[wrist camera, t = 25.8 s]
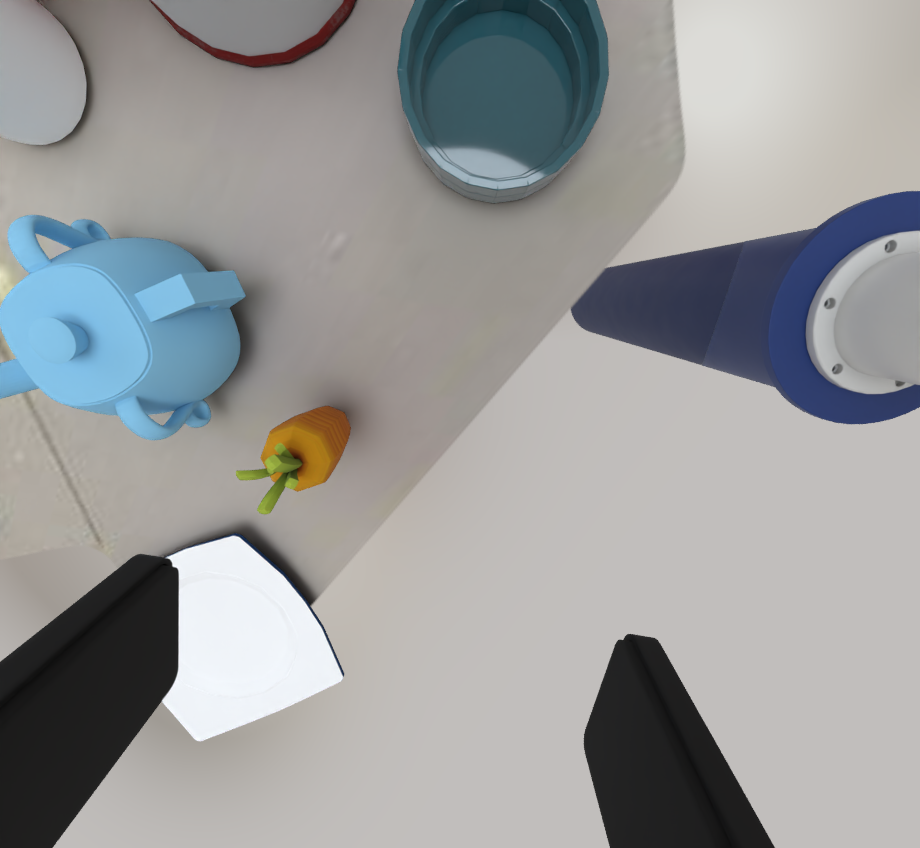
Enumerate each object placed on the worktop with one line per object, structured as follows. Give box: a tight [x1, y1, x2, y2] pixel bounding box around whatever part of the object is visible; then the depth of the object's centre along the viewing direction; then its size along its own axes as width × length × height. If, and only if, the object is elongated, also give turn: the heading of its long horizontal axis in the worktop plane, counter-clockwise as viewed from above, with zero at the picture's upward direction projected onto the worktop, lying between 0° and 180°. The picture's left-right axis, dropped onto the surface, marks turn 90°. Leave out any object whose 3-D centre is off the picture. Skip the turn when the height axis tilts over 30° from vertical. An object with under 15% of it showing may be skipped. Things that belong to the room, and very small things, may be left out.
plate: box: [162, 533, 344, 741], centre depth 45 cm, size 20×20×3 cm
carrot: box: [236, 406, 351, 514], centre depth 32 cm, size 5×5×15 cm
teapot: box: [0, 215, 246, 440], centre depth 32 cm, size 20×17×12 cm
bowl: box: [397, 0, 609, 203], centre depth 30 cm, size 13×13×5 cm
